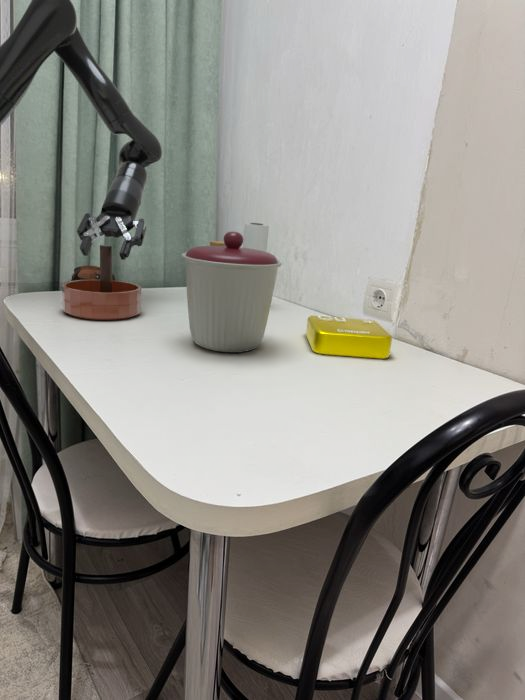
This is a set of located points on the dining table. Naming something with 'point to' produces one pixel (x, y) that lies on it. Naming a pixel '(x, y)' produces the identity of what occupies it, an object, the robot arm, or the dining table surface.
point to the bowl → (101, 300)
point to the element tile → (348, 337)
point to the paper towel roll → (255, 236)
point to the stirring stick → (105, 268)
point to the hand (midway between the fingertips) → (102, 255)
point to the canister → (229, 294)
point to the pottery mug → (87, 273)
